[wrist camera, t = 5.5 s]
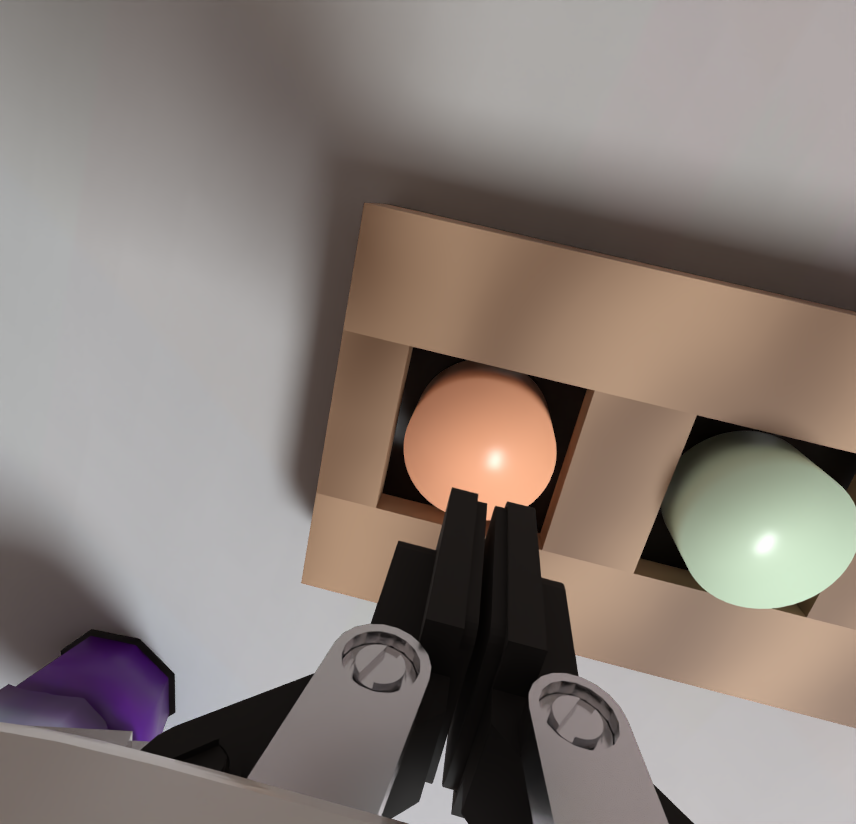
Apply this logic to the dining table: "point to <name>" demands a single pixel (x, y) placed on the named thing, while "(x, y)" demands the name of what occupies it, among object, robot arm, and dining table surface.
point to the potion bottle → (96, 689)
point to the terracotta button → (481, 437)
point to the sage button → (758, 520)
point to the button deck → (596, 437)
